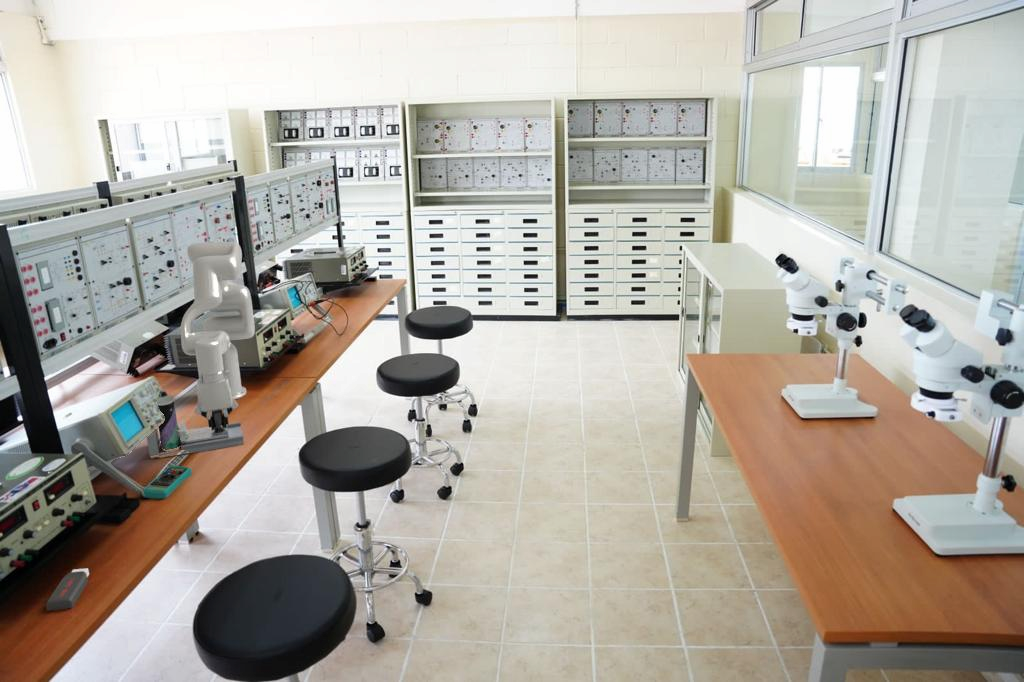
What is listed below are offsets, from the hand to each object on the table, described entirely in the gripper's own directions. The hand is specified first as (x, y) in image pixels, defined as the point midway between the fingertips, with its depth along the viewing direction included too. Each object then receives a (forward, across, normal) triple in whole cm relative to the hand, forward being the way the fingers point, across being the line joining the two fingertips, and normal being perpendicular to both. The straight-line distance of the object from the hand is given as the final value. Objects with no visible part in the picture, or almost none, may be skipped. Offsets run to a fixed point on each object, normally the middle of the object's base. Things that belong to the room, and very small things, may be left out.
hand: (219, 427), depth 225 cm
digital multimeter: (+5, +16, +24) cm, 29 cm away
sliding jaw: (+3, +4, 0) cm, 5 cm away
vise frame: (+5, +7, 0) cm, 8 cm away
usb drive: (+5, +36, +65) cm, 75 cm away
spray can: (+5, +15, 0) cm, 16 cm away
